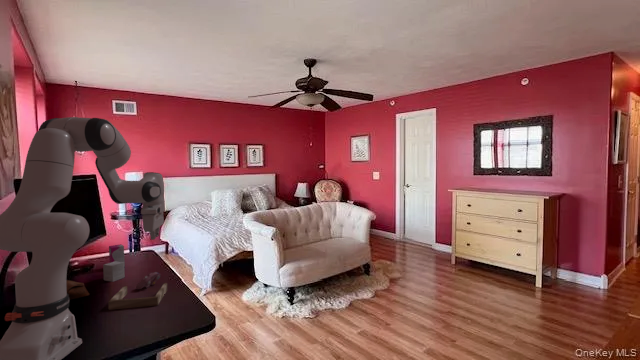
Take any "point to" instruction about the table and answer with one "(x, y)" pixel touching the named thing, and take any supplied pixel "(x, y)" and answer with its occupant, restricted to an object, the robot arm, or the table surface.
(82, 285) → the sunglasses case
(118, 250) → the supplement box
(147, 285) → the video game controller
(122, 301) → the birch dock
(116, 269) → the product box
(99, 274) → the table surface
